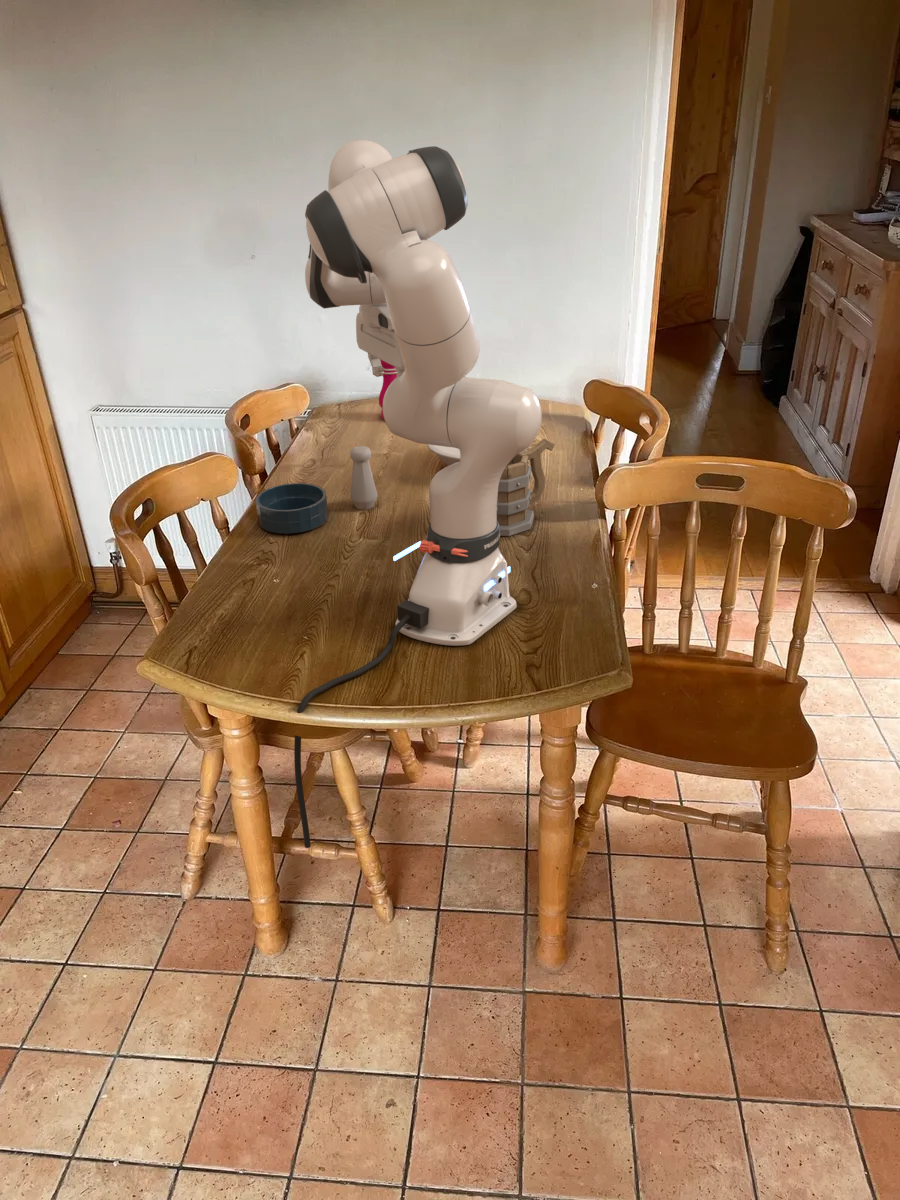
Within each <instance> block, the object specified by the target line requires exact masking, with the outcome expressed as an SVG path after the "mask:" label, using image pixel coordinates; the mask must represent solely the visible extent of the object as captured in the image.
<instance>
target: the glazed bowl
mask: <svg viewBox="0 0 900 1200" xmlns="http://www.w3.org/2000/svg"><path fill="white" fill-rule="evenodd" d="M255 506H256V514H257V521H258V525H259V526H260V527H261V528H262V529H263V530H265V531H267V532H270V533H275V534H299V533H305V532H308V531H312V530H314V529H316V528H319V527H321V526H322V525H324V524H325V523H326V522H328V521H327V520H328V519H329V517H330V516H329V507H328V499H327V491H326V490H325V489H324V488H323V487H322V486H319V485H316V484H313V483H307V482H306V483H305V482H291V483H283V484H279V485H274V486H271V487H269V488H266V489H263V490H262V491H261V492H259V493H258V494H257V495H256V497H255Z"/></svg>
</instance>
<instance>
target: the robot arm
mask: <svg viewBox="0 0 900 1200" xmlns="http://www.w3.org/2000/svg"><path fill="white" fill-rule="evenodd" d="M468 201H469V200H468V194H467V185H466V180H465V177H464V173H463V172H462V169H461V168H460V166H459V164H458V163H457V162H456V161H455V160H454V158H453V157H452V155H451V154H450V153H449V151H447V150H446V149H443V148H441V147H438V146H435V145H434V146H424V147H419V148H415V149H410V150H408V152H407V153H406V154H403V155H400V156H397V157H395V158H393V157H392V155H391V154H390V153H389V151H388V150H387V149H386V148H385V147H384V146H382V145H381V144H380V143H378V142H375V141H371V140H369V139H357V140H352V141H350V142H347V143H346V144H344V145H343V146H341V148H339V149H338V150H337V151H336V153H335V154H334V156H333V158H332V160H331V162H330V167H329V173H328V183H327V190H326V189H324V190H323V191H322V192H320V193H319V194H318V195H316V196H315V197H314V198H313V199H312V200H310V201H309V203H307V205H306V209H305V213H304V216H305V220H306V221H305V225H306V234H307V235H306V236H307V238H308V241H309V249H308V255H307V261H306V264H305V269H304V271H305V272H304V281H305V285H306V286H305V288H306V290H307V293H308V295H309V298H310V299H311V300H312V302H314V303H315V304H316V305H318V306H319V307H321V308H322V309H325V310H326V309H332V308H339V307H346V306H359V307H358V309H359V310H358V312H357V314H356V318H355V332H356V333H355V337H356V344H357V347H358V348H359V350H361V351H363V352H366V353H367V358H368V360H369V363H370V366H371V368H372V369H371V371H372V375H373V376H375V377H376V378H380V377H383V375H384V372H383V367H382V365H381V361H380V359H381V360H383V361H385V362H387V363H389V364H391V365H392V366H394V367H395V368H396V372H397V378H396V379H394V380H393V382H392V383H391V384H390V385H389V387H388V389H387V390H386V393H385V395H384V399H383V409H382V410H383V416H384V419H385V420H384V419H383V420H384V422H385V425H386V427H387V428H388V430H389V431H390V432H391V434H393V435H395V436H397V437H400V438H403V439H405V440H408V441H411V442H414V443H417V444H422V445H427V444H429V445H437V446H446V447H454V448H458V449H459V450H460V462H457V463H454V464H452V465H449V466H448V465H447V466H445V467H442V469H440V470H439V471H437V472H436V473H435V475H434V476H433V477H432V479H431V481H430V484H429V488H428V495H429V516H430V517H429V518H430V519H429V520H430V522H429V524H428V528H427V532H426V537H425V538H426V539H422V540H420V541H418V542H415V543H414V544H413V545H411V546H409V547H407V548H405V549H404V550H402V551H401V552H399V553H396V555H394V556H393V557H392V558H393V561H394V562H396V561H397V560H399V559H401V558H403V557H405V556H406V555H408V554H409V553H411V552H413V551H414V550H416V549H418V548H419V552H420V553H424V555H423V557H422V559H421V563H420V565H419V567H418V569H417V572H416V574H415V576H414V580H413V582H412V584H411V587H410V590H409V592H408V593H409V594H408V599H405V600H403V601H402V602H400V603H399V604H397V605H396V611H397V619H396V621H395V624H394V627H393V628H392V630H391V632H390V634H389V636H388V641H387V644H386V645H385V647H384V648H383V650H382V651H381V652H380V654H378V656H376V657H375V658H374V659H373V660H371V661H369V662H367V663H366V664H364V665H363V666H361V667H359V668H357V669H355V670H353V671H351V672H347V673H346V674H345V673H344V674H343V675H340V676H338V677H335V678H333V679H331V680H329V681H327V682H325V683H323V684H321V685H320V686H318V687H316V688H313V689H311V690H310V691H309V692H307V694H306V695H305V696H304V697H303V698H302V700H301V701H300V703H299V705H298V707H297V710H296V713H297V714H302V713H304V712H305V710H306V708H307V706H308V705H309V703H310V701H311V700H312V699H313V698H314V697H315V696H318V695H320V694H321V693H323V692H325V691H327V690H329V689H331V688H332V687H335V686H337V685H339V684H341V683H345V682H346V681H349V680H352V679H354V678H356V677H359V676H361V675H363V674H364V673H366V672H368V671H369V670H371V669H373V668H374V667H376V666H377V665H379V664H380V663H381V662H382V661H383V660H384V659H385V658H386V657H387V656H388V655H389V653H390V652H391V650H392V649H393V647H394V644H395V642H396V638H397V635H398V634H399V633H400V634H402V635H404V636H405V637H409V638H412V639H413V640H414V639H415V640H418V641H421V642H425V643H431V644H434V645H441V646H455V647H457V646H458V647H459V646H470V645H471V644H473V643H474V642H475V641H477V640H478V639H480V637H482V636H483V635H484V634H485V633H487V632H488V631H490V630H491V629H492V628H493V627H495V625H497V624H498V623H500V622H501V621H503V619H504V618H506V617H507V616H509V615H510V614H511V613H512V612H513V611H514V610H516V609H517V606H518V605H517V601H516V599H515V598H514V597H512V596H511V595H510V584H509V574H510V573H511V566H508V562H507V560H506V559H505V557H504V555H503V554H502V552H501V550H500V548H499V547H500V543H501V542H500V541H501V536H500V529H499V523H498V521H497V496H498V486H499V481H500V478H501V475H502V473H503V471H504V469H505V467H506V466H507V464H508V463H509V462H510V461H511V460H512V459H513V458H514V457H515V456H516V455H517V454H519V453H520V452H522V451H523V452H525V451H526V450H527V449H526V448H528V447H529V446H530V447H531V445H532V444H533V443H534V441H535V440H536V438H537V437H538V435H539V432H540V430H541V428H542V423H543V413H542V412H543V411H542V407H541V404H540V403H541V402H540V401H539V398H538V397H537V395H536V393H535V392H534V391H533V390H532V389H531V388H528V387H525V386H523V385H520V384H517V383H513V382H509V381H506V380H504V379H503V380H502V379H492V378H491V379H490V378H483V377H482V378H481V377H469V376H467V375H468V374H469V373H470V372H472V370H473V368H474V367H475V366H476V364H477V361H478V359H479V355H480V349H481V347H480V346H481V345H480V340H479V336H478V332H477V328H476V325H475V320H474V317H473V312H472V309H471V305H470V301H469V297H468V295H467V292H466V290H465V287H464V284H463V281H462V278H461V276H460V274H459V271H458V270H457V267H456V266H455V264H454V261H453V260H452V258H451V256H450V254H449V253H448V251H447V250H446V249H445V248H444V247H443V246H442V245H440V244H439V243H437V242H435V241H432V240H429V239H430V238H433V237H435V235H437V234H438V233H440V232H441V231H443V230H444V231H448V230H449V229H450V228H452V227H454V226H455V225H457V224H458V223H459V222H460V221H461V220H462V219H463V218H464V217H465V215H466V213H467V209H468V205H469V202H468ZM530 447H529V448H530ZM529 448H528V449H529ZM525 449H526V450H525ZM524 450H525V451H524ZM293 747H294V749H293V750H294V753H293V754H294V755H293V757H294V760H293V761H294V778H295V788H296V795H297V801H298V809H299V814H300V821H301V827H302V828H301V829H302V835H303V843H304V848H305V849H309V848H311V847H312V846H311V837H310V829H309V821H308V815H307V808H306V801H305V794H304V786H303V775H302V736H299V735H295V734H294V746H293Z"/></svg>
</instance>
